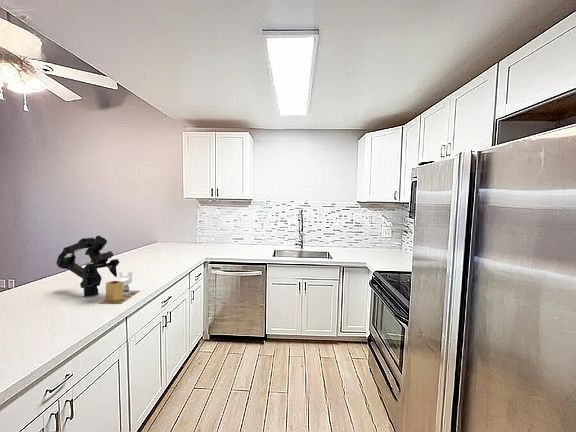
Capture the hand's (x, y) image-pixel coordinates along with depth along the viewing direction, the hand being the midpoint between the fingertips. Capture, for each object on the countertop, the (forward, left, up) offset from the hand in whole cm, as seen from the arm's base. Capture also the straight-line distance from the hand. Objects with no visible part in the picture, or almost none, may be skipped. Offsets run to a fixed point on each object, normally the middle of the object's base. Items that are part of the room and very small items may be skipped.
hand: (108, 278), depth 191 cm
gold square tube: (+2, -4, -12) cm, 13 cm away
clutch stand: (+6, +1, -13) cm, 15 cm away
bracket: (+16, +35, -14) cm, 41 cm away
